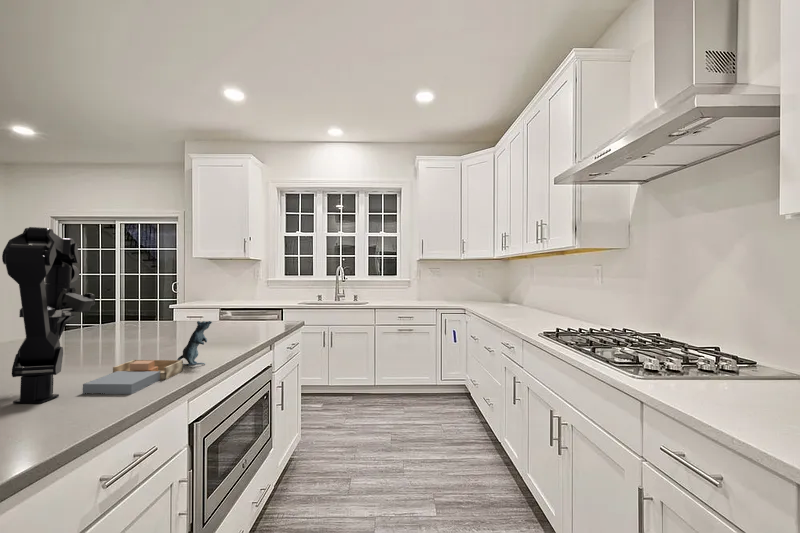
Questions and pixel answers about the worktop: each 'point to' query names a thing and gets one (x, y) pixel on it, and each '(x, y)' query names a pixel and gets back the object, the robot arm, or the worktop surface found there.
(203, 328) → the sculpture
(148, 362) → the tile near
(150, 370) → the tile far
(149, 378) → the slate board
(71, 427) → the worktop surface
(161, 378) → the tray
